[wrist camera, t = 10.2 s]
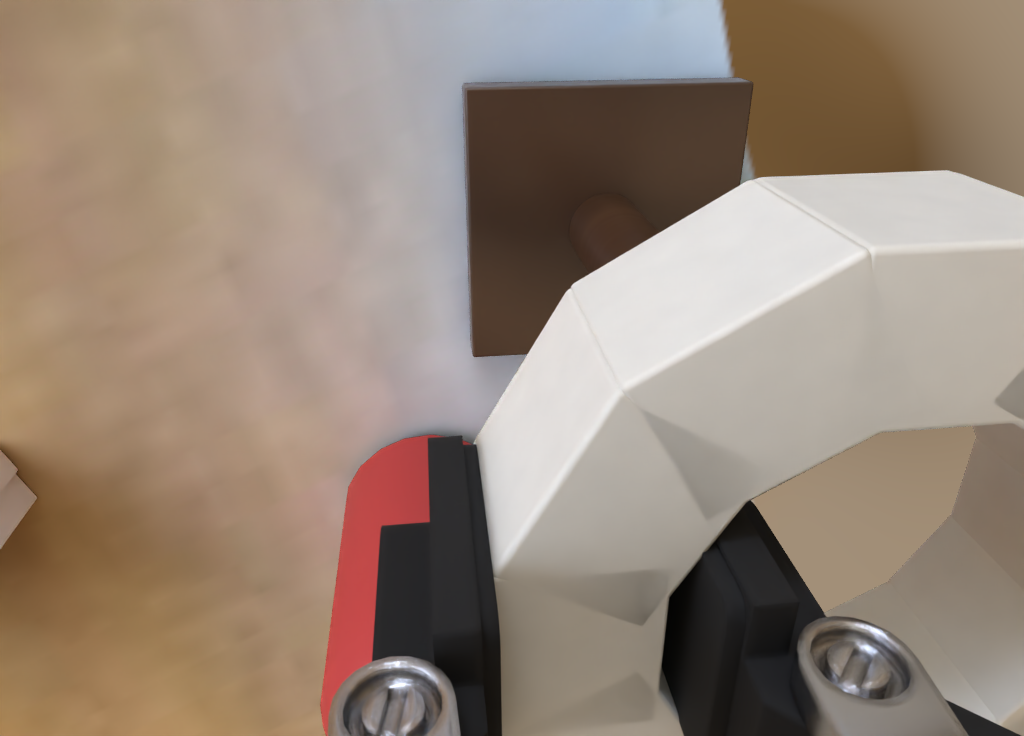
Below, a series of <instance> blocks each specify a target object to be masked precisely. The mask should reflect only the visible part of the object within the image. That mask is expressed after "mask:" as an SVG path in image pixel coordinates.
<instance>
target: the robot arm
mask: <svg viewBox="0 0 1024 736" xmlns="http://www.w3.org/2000/svg"><path fill="white" fill-rule="evenodd" d="M428 476H429V516H430V522H422V523H409V524H396V525H382V526H381V531H380V544H379V559H378V575H377V590H376V606H375V621H374V637H373V652H372V662H370V663H368V664H367V665H365V666H363V667H361V668H359V669H357V670H356V671H354V672H353V673H352V674H351V675H350V676H349V677H348V678H347V679H346V680H345V681H344V682H343V683H342V684H341V685H340V687H339V689H338V690H337V692H336V694H335V695H334V697H333V698H332V703H331V707H330V711H329V716H328V736H502V702H501V646H500V628H499V616H498V607H497V599H496V592H495V584H494V576H493V568H492V561H491V553H490V545H489V537H488V530H487V522H486V514H485V506H484V499H483V491H482V483H481V475H480V468H479V460H478V452H477V445H476V444H468V445H463V439H462V436H449V437H434V438H428ZM661 667H662V670H663V672H664V675H665V678H666V681H667V684H668V687H669V689H670V692H671V695H672V698H673V701H674V704H675V706H676V709H677V712H678V716H679V723H680V726H681V729H682V732H683V734H684V736H1021V735H1019V734H1017V733H1015V732H1013V731H1011V730H1009V729H1006V728H1004V727H1002V726H1000V725H998V724H996V723H994V722H992V721H990V720H988V719H986V718H983V717H981V716H979V715H977V714H975V713H973V712H971V711H969V710H967V709H965V708H963V707H960V706H958V705H956V704H954V703H952V702H950V701H948V700H946V699H944V697H943V696H942V694H941V693H940V691H939V690H938V688H937V687H936V685H935V684H934V682H933V680H932V679H931V677H930V676H929V674H928V673H927V671H926V670H925V668H924V667H923V665H922V664H921V662H920V661H919V659H918V658H917V657H916V655H915V654H914V653H913V652H912V651H911V650H910V648H909V647H908V646H907V645H906V644H905V643H904V642H903V641H901V640H900V639H899V638H897V637H896V636H895V635H893V634H892V633H891V632H889V631H887V630H885V629H883V628H881V627H879V626H877V625H875V624H873V623H871V622H867V621H864V620H860V619H857V618H853V617H842V616H831V617H826V615H825V614H824V612H823V611H822V609H821V607H820V606H819V604H818V603H817V601H816V600H815V598H814V597H813V595H812V593H811V592H810V590H809V589H808V587H807V586H806V584H805V582H804V581H803V579H802V578H801V576H800V575H799V573H798V571H797V570H796V569H795V567H794V565H793V564H792V562H791V561H790V559H789V558H788V556H787V554H786V553H785V551H784V550H783V548H782V546H781V545H780V543H779V542H778V540H777V539H776V537H775V536H774V534H773V533H772V531H771V529H770V528H769V526H768V525H767V523H766V521H765V520H764V518H763V517H762V515H761V514H760V512H759V510H758V509H757V507H756V506H755V505H754V504H753V502H752V501H751V500H750V501H748V502H746V503H745V505H744V506H743V507H742V508H741V509H740V511H739V512H738V513H737V514H736V516H735V517H734V518H733V519H732V521H731V522H730V523H729V524H728V526H727V527H726V528H725V529H724V530H723V532H722V533H721V534H720V535H719V537H718V538H717V539H716V540H715V542H714V543H713V544H712V545H711V547H710V548H709V549H708V550H707V551H706V552H703V554H702V558H701V559H700V560H699V561H698V563H697V564H696V565H695V566H694V567H693V569H692V570H691V571H690V572H689V574H688V575H687V576H686V577H685V579H684V580H683V581H682V582H681V584H680V585H679V586H678V587H677V588H676V590H675V591H674V592H673V593H672V595H671V596H670V597H669V605H668V614H667V622H666V631H665V640H664V649H663V657H662V666H661Z"/></svg>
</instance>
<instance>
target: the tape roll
mask: <svg viewBox="0 0 1024 736" xmlns="http://www.w3.org/2000/svg"><path fill="white" fill-rule="evenodd" d="M966 426H973V429H974V432H975V435H976V439H975V442H974V446H973V449H972V452H971V455H970V458H969V461H968V464H967V467H966V470H965V473H964V477H963V480H962V483H961V486H960V489H959V492H958V495H957V498H956V502H955V505H954V508H953V511H952V514H951V515H950V516H949V517H948V518H947V519H946V520H945V521H944V523H943V524H942V525H941V526H940V527H939V528H938V529H937V530H936V531H935V532H934V533H933V534H932V535H931V536H930V537H929V539H927V540H926V542H925V543H924V544H923V545H922V546H921V547H920V548H919V549H918V550H917V551H916V552H915V553H914V554H913V555H912V556H911V558H909V560H908V561H907V562H906V563H905V564H904V565H903V566H902V567H901V568H900V569H899V570H898V571H897V572H896V573H895V574H894V575H893V576H892V577H891V579H890V580H889V581H888V582H886V583H884V584H882V585H880V586H878V587H876V588H874V589H872V590H870V591H868V592H866V593H864V594H862V595H860V596H858V597H855V598H853V599H851V600H849V601H847V602H845V603H843V604H841V605H839V606H837V607H835V608H833V609H831V610H829V611H827V612H825V613H824V614H825V615H826V617H831V616H842V617H853V618H857V619H860V620H864V621H867V622H871V623H873V624H875V625H877V626H879V627H881V628H883V629H885V630H887V631H889V632H891V633H892V634H893V635H895V636H896V637H897V638H899V639H900V640H901V641H903V642H904V643H905V644H906V645H907V646H908V647H909V648H910V650H911V651H912V652H913V653H914V654H915V655H916V657H917V658H918V659H919V661H920V662H921V664H922V665H923V667H924V668H925V670H926V671H927V673H928V674H929V676H930V677H931V679H932V680H933V682H934V684H935V685H936V687H937V688H938V690H939V691H940V693H941V694H942V696H943V697H944V699H946V700H948V701H950V702H952V703H954V704H956V705H958V706H960V707H963V708H965V709H967V710H969V711H971V712H973V713H975V714H977V715H979V716H981V717H983V718H986V719H988V720H990V721H992V722H994V723H996V724H998V725H1000V726H1002V727H1004V728H1006V729H1009V730H1011V731H1013V732H1015V733H1017V734H1019V735H1021V736H1024V197H1023V196H1020V195H1017V194H1014V193H1012V192H1009V191H1006V190H1003V189H1001V188H998V187H995V186H992V185H990V184H987V183H984V182H981V181H979V180H976V179H973V178H971V177H968V176H965V175H962V174H960V173H954V172H951V171H949V170H947V171H946V170H944V171H921V172H920V171H918V172H893V173H892V172H891V173H865V174H838V175H811V176H783V177H760V178H757V179H755V180H748V181H746V182H745V183H743V184H741V185H740V186H738V187H736V188H735V189H733V190H731V191H729V192H728V193H726V194H724V195H723V196H721V197H719V198H718V199H716V200H714V201H712V202H711V203H709V204H707V205H706V206H704V207H702V208H701V209H699V210H697V211H696V212H694V213H692V214H690V215H689V216H687V217H685V218H684V219H682V220H680V221H679V222H677V223H675V224H673V225H672V226H670V227H668V228H667V229H665V230H663V231H662V232H660V233H658V234H657V235H655V236H653V237H651V238H650V239H648V240H646V241H645V242H643V243H641V244H640V245H638V246H636V247H634V248H633V249H631V250H629V251H628V252H626V253H624V254H623V255H621V256H619V257H618V258H616V259H614V260H612V261H611V262H609V263H607V264H606V265H604V266H602V267H601V268H599V269H597V270H595V271H594V272H592V273H590V274H589V275H587V276H585V277H584V278H582V279H580V280H579V281H577V282H575V283H574V284H573V285H572V286H571V289H569V290H568V291H566V293H565V294H564V296H563V298H562V299H561V301H560V302H559V304H558V306H557V307H556V309H555V311H554V312H553V314H552V315H551V317H550V319H549V320H548V322H547V324H546V325H545V327H544V328H543V330H542V332H541V333H540V335H539V337H538V338H537V340H536V341H535V343H534V345H533V346H532V348H531V350H530V351H529V353H528V354H527V356H526V358H525V359H524V361H523V363H522V364H521V366H520V367H519V369H518V371H517V372H516V374H515V375H514V377H513V379H512V380H511V382H510V384H509V385H508V387H507V388H506V390H505V392H504V393H503V395H502V397H501V398H500V400H499V401H498V403H497V405H496V406H495V408H494V410H493V411H492V413H491V414H490V416H489V418H488V419H487V421H486V423H485V424H484V426H483V427H482V429H481V431H480V432H479V434H478V436H477V437H476V441H474V443H473V444H476V445H477V452H478V460H479V468H480V475H481V483H482V491H483V499H484V506H485V514H486V522H487V530H488V537H489V545H490V553H491V561H492V568H493V576H494V584H495V592H496V599H497V607H498V616H499V628H500V646H501V702H502V736H684V734H683V732H682V729H681V726H680V723H679V716H678V712H677V709H676V706H675V704H674V701H673V698H672V695H671V692H670V689H669V687H668V684H667V681H666V678H665V675H664V672H663V670H662V667H661V666H662V657H663V649H664V640H665V631H666V622H667V614H668V605H669V597H670V596H671V595H672V593H673V592H674V591H675V590H676V588H677V587H678V586H679V585H680V584H681V582H682V581H683V580H684V579H685V577H686V576H687V575H688V574H689V572H690V571H691V570H692V569H693V567H694V566H695V565H696V564H697V563H698V561H699V560H700V559H701V558H702V554H703V552H706V551H707V550H708V549H709V548H710V547H711V545H712V544H713V543H714V542H715V540H716V539H717V538H718V537H719V535H720V534H721V533H722V532H723V530H724V529H725V528H726V527H727V526H728V524H729V523H730V522H731V521H732V519H733V518H734V517H735V516H736V514H737V513H738V512H739V511H740V509H741V508H742V507H743V506H744V505H745V503H746V502H748V501H750V500H752V499H754V498H755V497H757V496H759V495H761V494H763V493H765V492H767V491H769V490H771V489H773V488H775V487H777V486H779V485H780V484H782V483H784V482H786V481H788V480H790V479H792V478H794V477H796V476H798V475H800V474H802V473H804V472H806V471H807V470H809V469H811V468H813V467H815V466H817V465H819V464H820V463H823V462H825V461H826V460H829V459H831V458H832V457H834V456H836V455H838V454H840V453H842V452H844V451H846V450H848V449H850V448H852V447H854V446H856V445H857V444H859V443H861V442H863V441H865V440H867V439H869V438H871V437H873V436H875V435H877V434H879V433H881V432H895V431H908V430H924V429H936V428H937V429H938V428H952V427H966Z"/></svg>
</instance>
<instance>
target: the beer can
mask: <svg viewBox="0 0 1024 736" xmlns="http://www.w3.org/2000/svg"><path fill="white" fill-rule="evenodd" d="M434 437H446V436H437V435H425V436H418V437H412V438H405V439H402V440H400V441H398V442H395V443H393V444H391V445H389V446H386V447H384V448H382V449H380V450H379V451H378V452H377V453H376V454H374V455H373V456H372V457H371V458H370V459H369V460H367V461H366V462H365V463H364V464H363V465H362V466H361V467H360V468H359V470H358V471H357V473H356V475H355V477H354V478H353V480H352V482H351V483H350V485H349V487H348V494H347V501H346V508H345V515H344V523H343V531H342V539H341V547H340V555H339V563H338V570H337V578H336V586H335V594H334V602H333V610H332V618H331V625H330V633H329V641H328V649H327V657H326V665H325V673H324V680H323V688H322V696H321V704H320V707H321V714H322V722H323V728H324V731H325V734H326V736H328V716H329V711H330V707H331V703H332V698H333V697H334V695H335V694H336V692H337V690H338V689H339V687H340V685H341V684H342V683H343V682H344V681H345V680H346V679H347V678H348V677H349V676H350V675H351V674H352V673H353V672H354V671H356V670H357V669H359V668H361V667H363V666H365V665H367V664H368V663H370V662H372V652H373V637H374V621H375V606H376V590H377V575H378V559H379V544H380V531H381V526H382V525H396V524H409V523H422V522H430V516H429V476H428V438H434ZM468 444H470V443H468V442H465V441H463V445H468Z"/></svg>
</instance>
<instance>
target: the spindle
mask: <svg viewBox="0 0 1024 736" xmlns="http://www.w3.org/2000/svg"><path fill="white" fill-rule="evenodd" d="M752 91H753V82H751V81H748V80H745V79H741V78H693V79H643V80H593V81H543V82H493V83H464V84H463V85H462V100H463V130H464V160H465V189H466V219H467V249H468V279H469V309H470V339H471V348H472V354H473V356H474V357H484V356H502V355H519V354H528V353H529V351H530V350H531V348H532V346H533V345H534V343H535V341H536V340H537V338H538V337H539V335H540V333H541V332H542V330H543V328H544V327H545V325H546V324H547V322H548V320H549V319H550V317H551V315H552V314H553V312H554V311H555V309H556V307H557V306H558V304H559V302H560V301H561V299H562V298H563V296H564V294H565V293H566V291H568V290H569V289H571V286H572V285H573V284H574V283H575V282H577V281H579V280H580V279H582V278H584V277H585V276H587V275H589V274H590V273H592V272H594V271H595V270H597V269H599V268H601V267H602V266H604V265H606V264H607V263H609V262H611V261H612V260H614V259H616V258H618V257H619V256H621V255H623V254H624V253H626V252H628V251H629V250H631V249H633V248H634V247H636V246H638V245H640V244H641V243H643V242H645V241H646V240H648V239H650V238H651V237H653V236H655V235H657V234H658V233H660V232H662V231H663V230H665V229H667V228H668V227H670V226H672V225H673V224H675V223H677V222H679V221H680V220H682V219H684V218H685V217H687V216H689V215H690V214H692V213H694V212H696V211H697V210H699V209H701V208H702V207H704V206H706V205H707V204H709V203H711V202H712V201H714V200H716V199H718V198H719V197H721V196H723V195H724V194H726V193H728V192H729V191H731V190H733V189H735V188H736V187H738V186H740V181H741V174H742V166H743V159H744V151H745V144H746V136H747V129H748V121H749V114H750V106H751V99H752Z"/></svg>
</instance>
